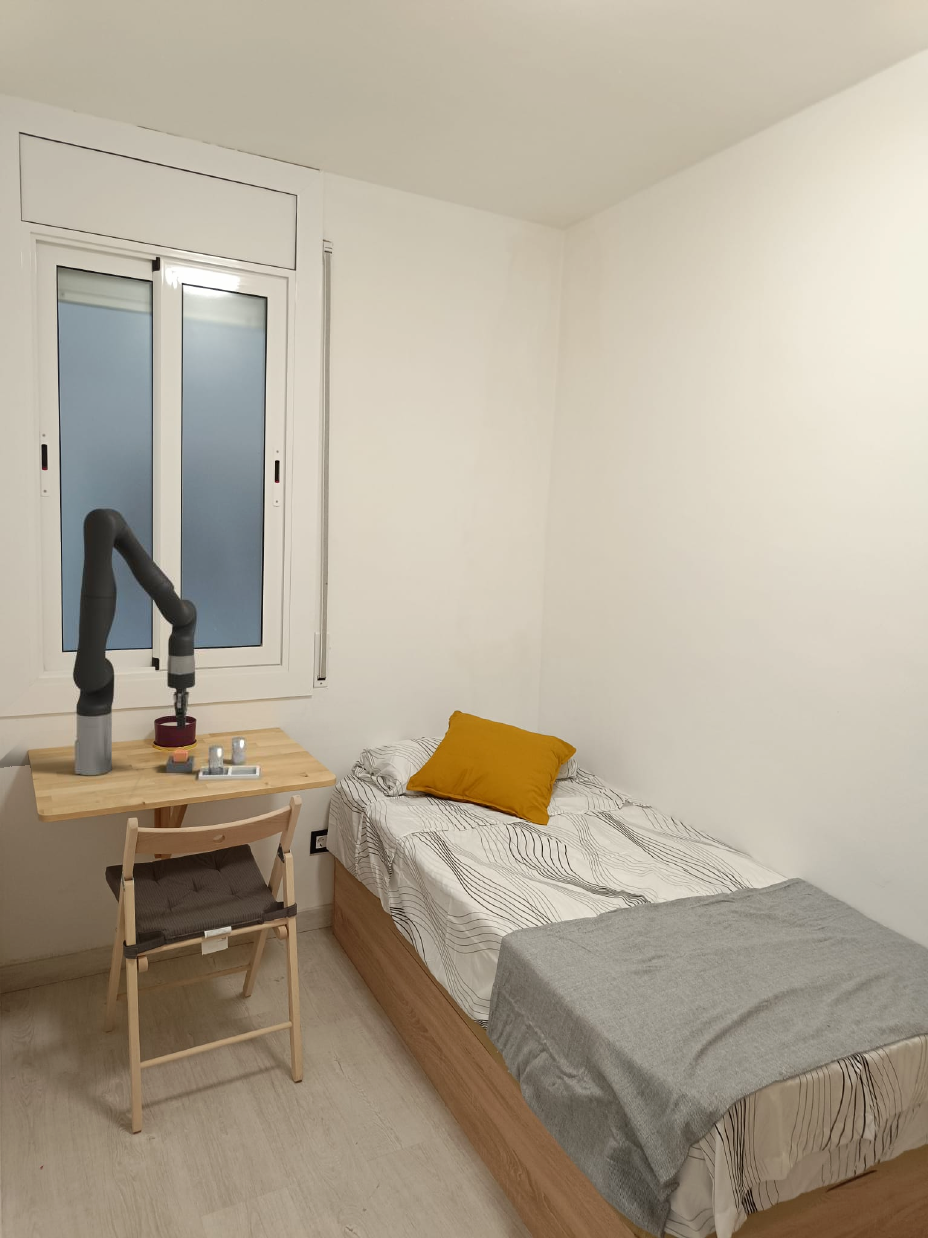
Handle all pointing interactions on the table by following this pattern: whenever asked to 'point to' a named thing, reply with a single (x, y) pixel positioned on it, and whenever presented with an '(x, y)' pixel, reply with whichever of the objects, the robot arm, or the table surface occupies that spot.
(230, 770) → the white divided tray
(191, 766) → the button housing
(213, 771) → the cylinder
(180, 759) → the button
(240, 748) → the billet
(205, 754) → the table surface
